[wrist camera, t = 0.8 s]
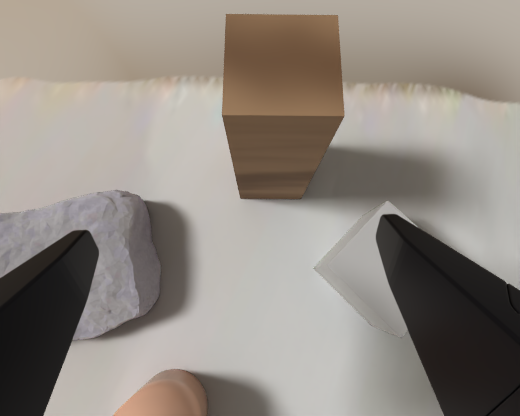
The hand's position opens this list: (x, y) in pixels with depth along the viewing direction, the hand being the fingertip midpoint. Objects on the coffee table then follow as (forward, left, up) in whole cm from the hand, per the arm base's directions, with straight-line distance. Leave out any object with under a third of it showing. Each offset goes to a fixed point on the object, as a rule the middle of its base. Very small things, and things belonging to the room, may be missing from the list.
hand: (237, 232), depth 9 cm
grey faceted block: (-5, -8, -15) cm, 18 cm away
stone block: (+6, +12, -15) cm, 20 cm away
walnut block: (+6, -5, -15) cm, 17 cm away
